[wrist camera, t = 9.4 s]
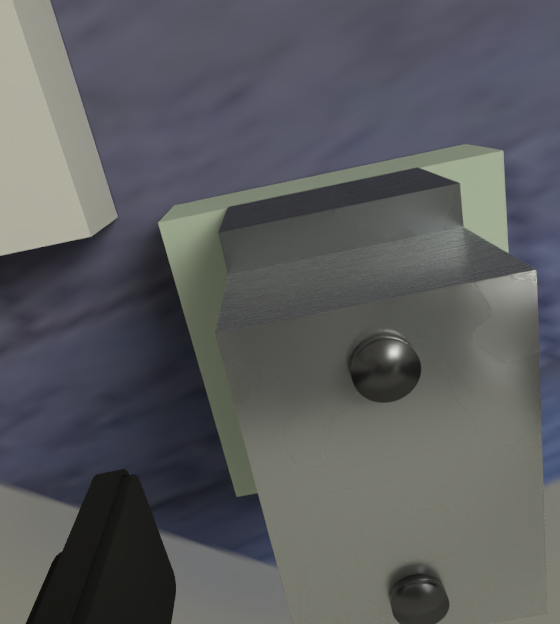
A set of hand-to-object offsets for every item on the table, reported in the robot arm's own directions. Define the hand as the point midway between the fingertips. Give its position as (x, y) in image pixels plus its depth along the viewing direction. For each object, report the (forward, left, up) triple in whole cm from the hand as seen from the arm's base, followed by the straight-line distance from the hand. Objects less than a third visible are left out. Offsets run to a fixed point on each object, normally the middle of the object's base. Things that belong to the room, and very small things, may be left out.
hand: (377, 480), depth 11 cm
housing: (0, 0, -7) cm, 7 cm away
